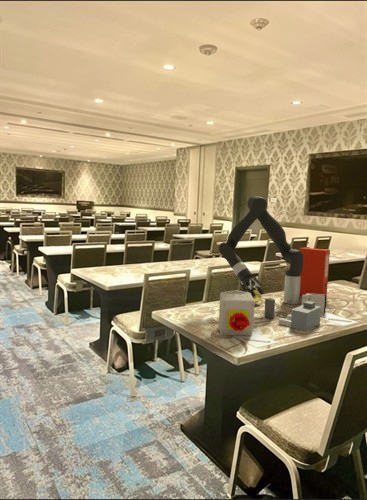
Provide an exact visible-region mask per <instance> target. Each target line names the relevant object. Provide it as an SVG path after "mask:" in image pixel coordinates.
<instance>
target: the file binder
mask: <svg viewBox="0 0 367 500" xmlns="http://www.w3.org/2000/svg"><path fill="white" fill-rule="evenodd" d="M298 250H299V251H301V252H302V253H303V256H304V262H303V270H302V273H301V282H300V297H302V295H306V294H307V293H308V294H323V295H326V296H328V295H327V293H328V283H329V281H328V279H329V267H330V255H331V254H330V252H331V249H325V248H313V247H312V248H311V247H299V249H298Z"/></svg>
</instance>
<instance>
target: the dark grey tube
mask: <svg viewBox="0 0 367 500" xmlns="http://www.w3.org/2000/svg"><path fill="white" fill-rule="evenodd" d="M275 307H276V299H275V298H272V297H267V298H265V299H264V311H263V312H264V315H263V316H264V317H263V318H264V319H266V320H274V319H275V310H276V309H275Z"/></svg>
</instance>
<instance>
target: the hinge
mask: <svg viewBox="0 0 367 500" xmlns="http://www.w3.org/2000/svg"><path fill="white" fill-rule="evenodd" d="M327 296H328V295H327ZM327 296H326V295H323V294H308V293H307V294H306V295H302V296H301V305H303V303H304V302H306V301H312V302H315V306H320V307H321V313H320V314H326V311H327V310H326V309H327Z"/></svg>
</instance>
